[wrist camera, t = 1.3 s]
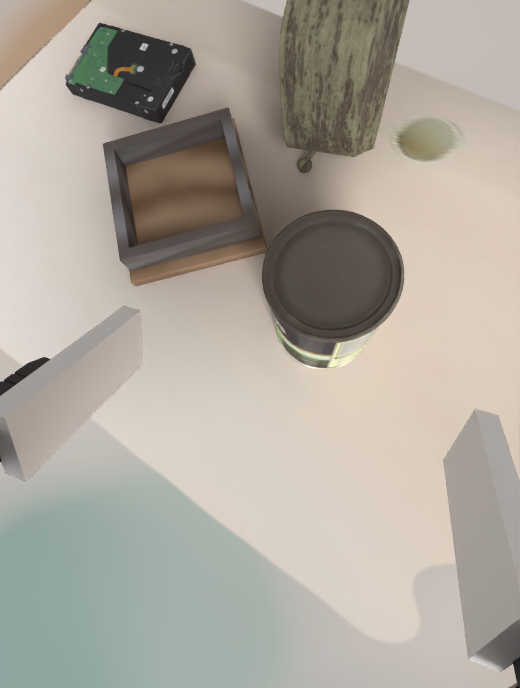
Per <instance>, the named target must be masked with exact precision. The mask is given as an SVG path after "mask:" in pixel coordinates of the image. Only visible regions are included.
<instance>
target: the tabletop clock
mask: <svg viewBox="0 0 520 688" xmlns="http://www.w3.org/2000/svg"><path fill="white" fill-rule="evenodd" d="M408 4H409V0H287V3H286V7H285V11H284V16H283V21H282V27H281V32H280V92H281V111H282V120H283V130H284V137H285V142H286V145H287V147H292V148H298V149H305V150H310V151H309V153H308V155H307V158H302V159H301V160H300V162H299V163H298V166H299V170H300V171H301V172H303V173H305V172H309V171H310V169H311V168H312V162H311V158H312V157H313V156H314V154H315V153H316V151H318V152H325V153H332V154H338V155H345V156H351V157H354V156H357V155H359V154H361V153H364V152H366V151H368V150H371V149H373V148H374V144H375V140H376V136H377V132H378V128H379V124H380V120H381V115H382V111H383V107H384V103H385V99H386V95H387V91H388V87H389V82H390V78H391V74H392V70H393V66H394V62H395V58H396V53H397V49H398V45H399V41H400V37H401V33H402V29H403V24H404V20H405V16H406V12H407V8H408Z"/></svg>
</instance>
